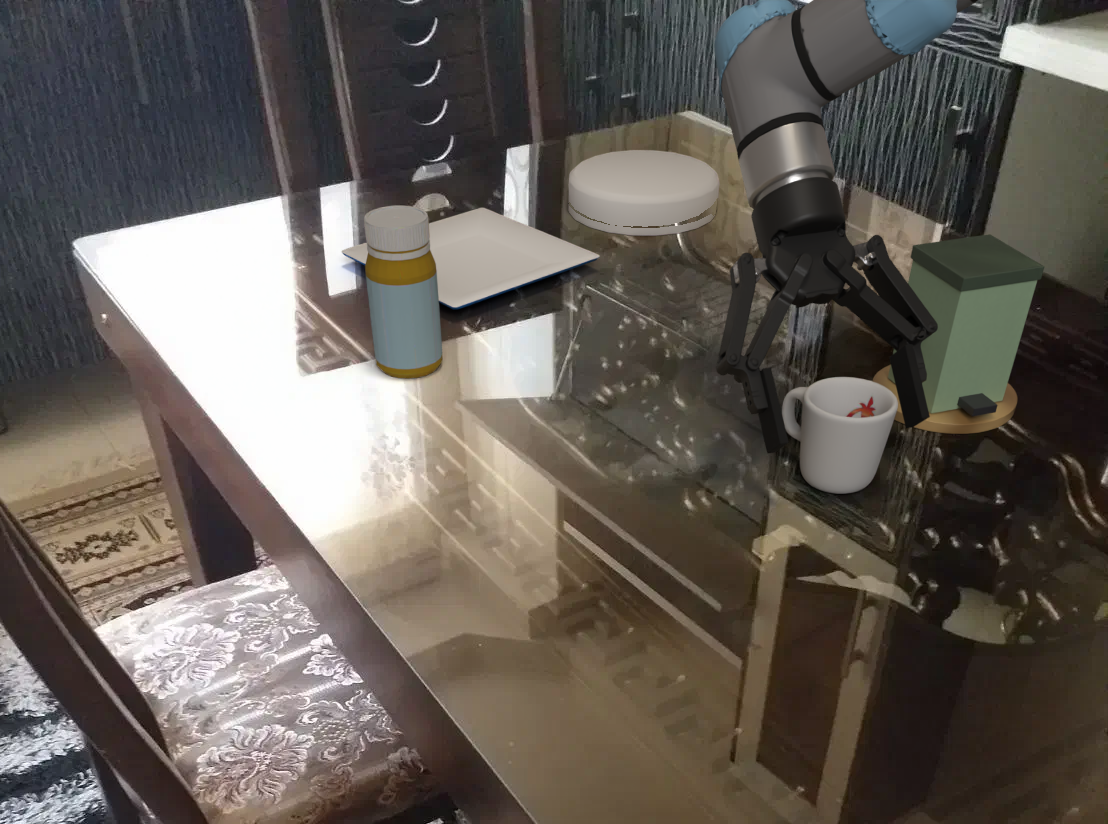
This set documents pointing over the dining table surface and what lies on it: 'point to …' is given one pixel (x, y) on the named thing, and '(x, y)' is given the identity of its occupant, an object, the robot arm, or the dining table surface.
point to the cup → (840, 431)
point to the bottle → (402, 292)
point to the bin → (971, 318)
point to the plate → (490, 256)
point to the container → (642, 192)
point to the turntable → (956, 412)
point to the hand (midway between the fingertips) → (849, 435)
